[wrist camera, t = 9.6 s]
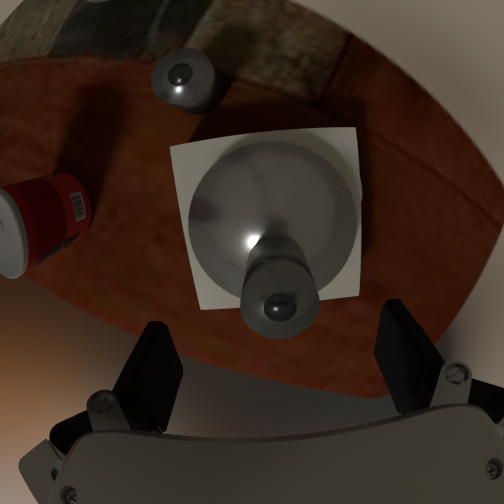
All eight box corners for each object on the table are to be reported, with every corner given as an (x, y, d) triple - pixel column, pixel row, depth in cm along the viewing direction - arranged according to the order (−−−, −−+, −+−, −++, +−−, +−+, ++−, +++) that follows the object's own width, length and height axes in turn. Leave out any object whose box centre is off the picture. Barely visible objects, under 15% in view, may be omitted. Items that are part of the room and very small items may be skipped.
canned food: (62, 158, 23) (-12, 172, 13) (105, 201, 25) (32, 233, 14) (40, 210, 25) (-25, 238, 15) (78, 252, 27) (16, 296, 16)
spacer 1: (174, 76, 20) (149, 57, 14) (221, 66, 20) (208, 41, 14) (179, 118, 22) (153, 109, 16) (227, 109, 21) (214, 95, 15)
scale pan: (179, 154, 18) (175, 155, 18) (348, 137, 17) (352, 136, 17) (206, 304, 23) (204, 309, 22) (352, 291, 22) (354, 296, 21)
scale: (184, 147, 22) (168, 146, 18) (345, 131, 21) (361, 127, 17) (209, 288, 27) (199, 311, 23) (350, 275, 26) (363, 297, 22)
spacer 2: (243, 238, 20) (234, 275, 14) (304, 233, 19) (320, 267, 14) (250, 292, 21) (245, 342, 15) (307, 287, 21) (319, 335, 15)
